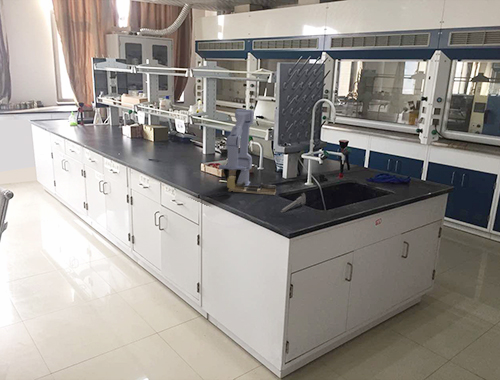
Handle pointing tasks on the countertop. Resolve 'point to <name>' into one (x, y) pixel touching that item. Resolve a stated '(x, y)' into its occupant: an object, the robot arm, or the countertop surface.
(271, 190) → the mechanism
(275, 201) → the countertop surface
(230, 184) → the coupler
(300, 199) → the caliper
